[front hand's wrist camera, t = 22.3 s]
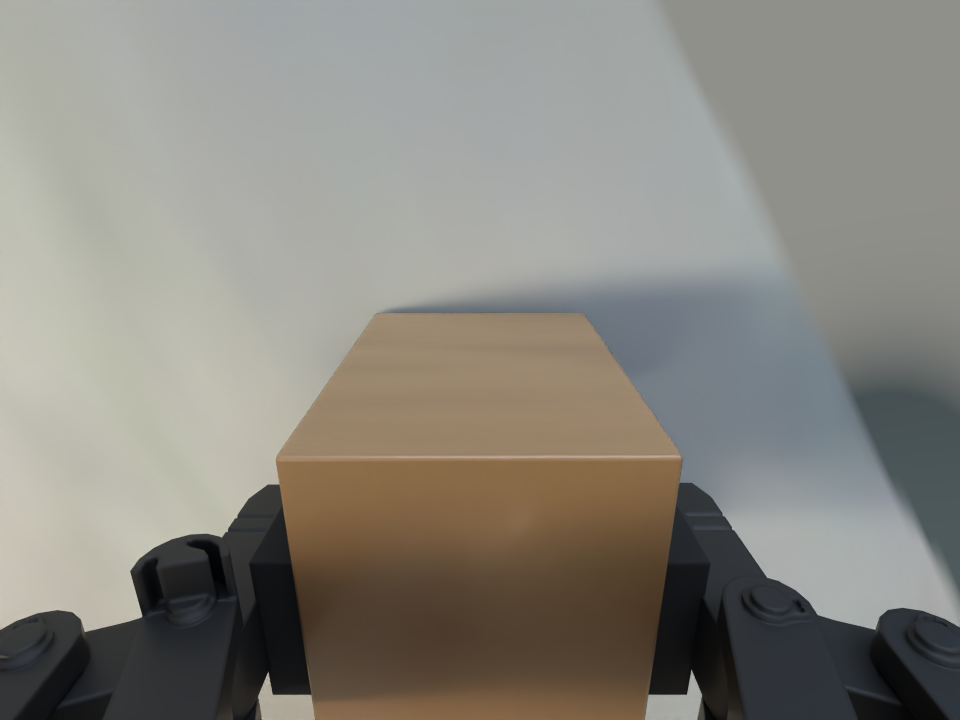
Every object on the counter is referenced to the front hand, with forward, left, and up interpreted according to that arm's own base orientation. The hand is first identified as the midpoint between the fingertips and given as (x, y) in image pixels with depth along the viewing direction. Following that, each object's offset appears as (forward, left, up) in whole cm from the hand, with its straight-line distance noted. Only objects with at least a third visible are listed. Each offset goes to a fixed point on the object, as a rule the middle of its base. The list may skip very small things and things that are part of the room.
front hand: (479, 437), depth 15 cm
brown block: (0, 0, -1) cm, 1 cm away
